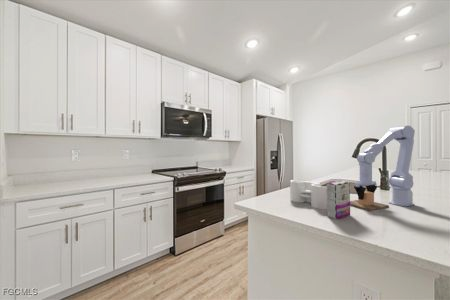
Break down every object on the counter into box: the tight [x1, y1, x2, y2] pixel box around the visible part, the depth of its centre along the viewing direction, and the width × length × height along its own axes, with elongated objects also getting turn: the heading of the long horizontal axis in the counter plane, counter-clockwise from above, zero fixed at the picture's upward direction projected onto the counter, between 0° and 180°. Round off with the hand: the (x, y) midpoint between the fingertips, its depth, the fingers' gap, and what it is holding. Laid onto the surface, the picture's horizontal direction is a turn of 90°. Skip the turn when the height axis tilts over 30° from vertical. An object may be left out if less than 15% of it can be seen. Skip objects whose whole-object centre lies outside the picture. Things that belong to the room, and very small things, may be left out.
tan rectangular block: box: [357, 190, 375, 206], centre depth 113 cm, size 5×5×7 cm
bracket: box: [289, 179, 327, 210], centre depth 119 cm, size 25×10×12 cm, turn 33°
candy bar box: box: [326, 180, 351, 220], centre depth 97 cm, size 11×5×16 cm, turn 117°
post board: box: [350, 199, 390, 212], centre depth 113 cm, size 16×14×6 cm
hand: (365, 198), depth 113 cm, fingers open, 7 cm apart
